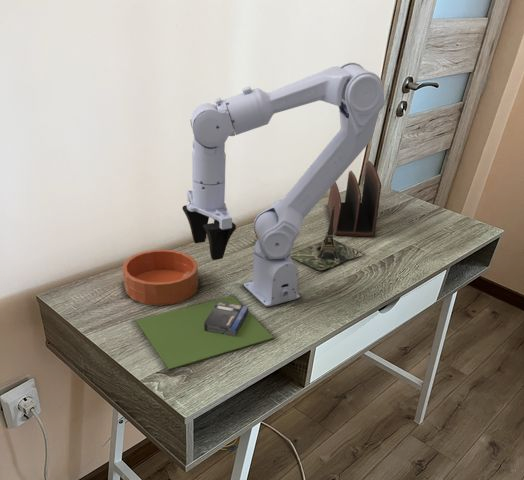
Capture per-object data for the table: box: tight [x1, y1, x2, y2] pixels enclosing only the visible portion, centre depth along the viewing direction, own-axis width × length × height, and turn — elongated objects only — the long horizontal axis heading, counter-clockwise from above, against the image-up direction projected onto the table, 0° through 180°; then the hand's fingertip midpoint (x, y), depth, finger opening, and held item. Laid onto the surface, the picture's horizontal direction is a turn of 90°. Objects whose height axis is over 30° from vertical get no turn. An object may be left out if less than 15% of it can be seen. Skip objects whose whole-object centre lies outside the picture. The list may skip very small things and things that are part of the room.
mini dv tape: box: [204, 301, 249, 336], centre depth 98 cm, size 8×2×6 cm
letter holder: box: [327, 159, 382, 238], centre depth 135 cm, size 10×20×14 cm, turn 0°
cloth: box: [135, 295, 275, 371], centre depth 96 cm, size 16×20×1 cm
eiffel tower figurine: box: [290, 205, 364, 271], centre depth 118 cm, size 15×10×13 cm
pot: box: [122, 249, 199, 306], centre depth 106 cm, size 15×15×5 cm
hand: (208, 250), depth 101 cm, fingers open, 7 cm apart
